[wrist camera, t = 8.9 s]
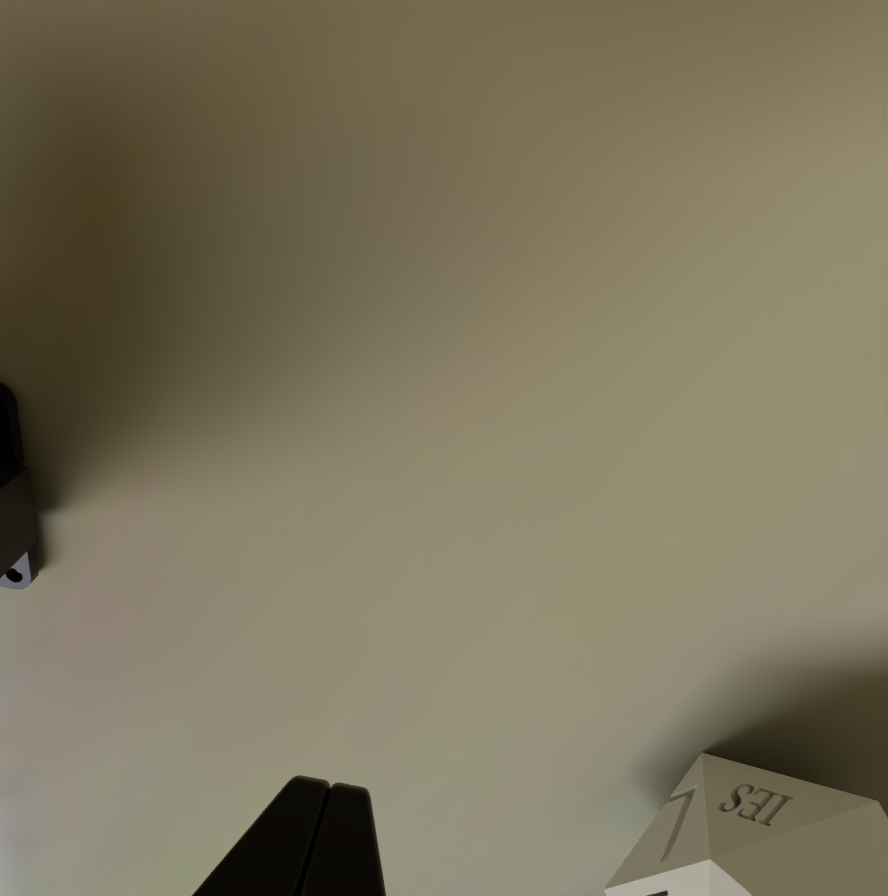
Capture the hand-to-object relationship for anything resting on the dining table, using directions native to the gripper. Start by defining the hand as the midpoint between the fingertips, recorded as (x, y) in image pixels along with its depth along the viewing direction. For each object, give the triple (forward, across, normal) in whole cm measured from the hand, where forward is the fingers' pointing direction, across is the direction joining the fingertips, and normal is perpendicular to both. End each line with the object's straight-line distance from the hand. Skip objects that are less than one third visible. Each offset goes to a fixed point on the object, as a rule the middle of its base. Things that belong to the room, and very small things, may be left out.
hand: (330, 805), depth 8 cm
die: (+12, -12, +13) cm, 22 cm away
